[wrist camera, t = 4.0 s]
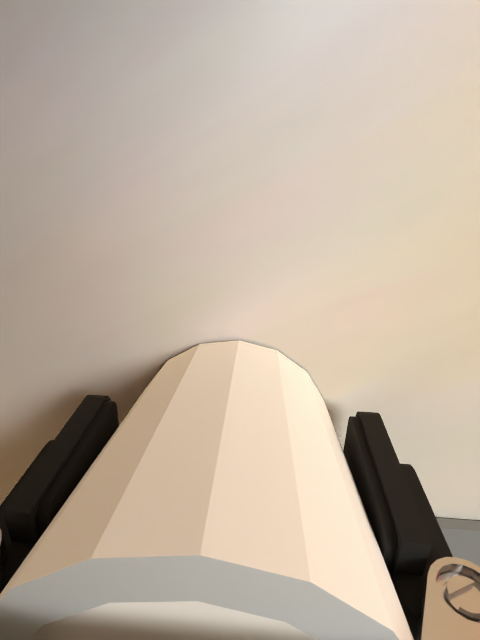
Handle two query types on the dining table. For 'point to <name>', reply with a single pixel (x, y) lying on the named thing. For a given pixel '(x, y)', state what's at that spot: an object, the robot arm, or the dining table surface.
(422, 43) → the dining table surface
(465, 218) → the dining table surface
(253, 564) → the white cup
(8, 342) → the dining table surface
